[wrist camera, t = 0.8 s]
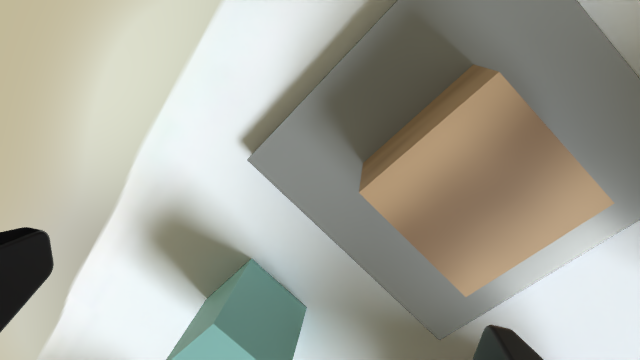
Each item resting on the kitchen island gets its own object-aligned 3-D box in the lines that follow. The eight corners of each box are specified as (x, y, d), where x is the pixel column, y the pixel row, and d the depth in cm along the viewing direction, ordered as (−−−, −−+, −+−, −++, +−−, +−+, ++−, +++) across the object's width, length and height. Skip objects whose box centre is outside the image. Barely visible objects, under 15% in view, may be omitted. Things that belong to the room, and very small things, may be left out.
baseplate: (698, 166, 18) (716, 173, 17) (437, 328, 24) (439, 340, 23) (487, -94, 16) (494, -103, 15) (252, 154, 21) (247, 159, 20)
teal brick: (306, 307, 25) (285, 384, 19) (259, 342, 27) (228, 422, 21) (251, 258, 24) (213, 323, 19) (207, 298, 26) (160, 369, 20)
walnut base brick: (566, 169, 18) (614, 203, 14) (450, 250, 21) (465, 297, 17) (473, 64, 17) (499, 71, 13) (362, 163, 20) (358, 192, 16)
